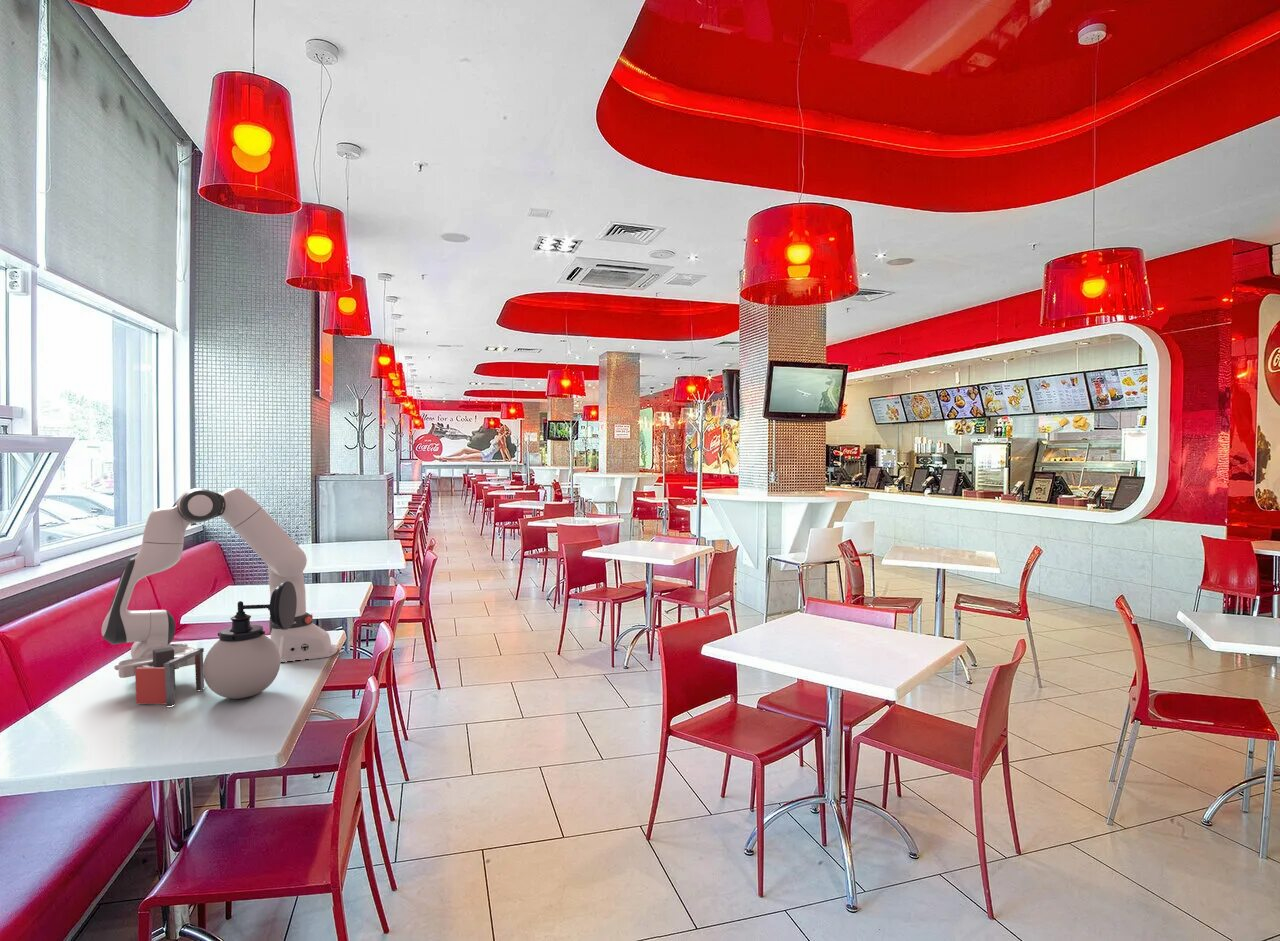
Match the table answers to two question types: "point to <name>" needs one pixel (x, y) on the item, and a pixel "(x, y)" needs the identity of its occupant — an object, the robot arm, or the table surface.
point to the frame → (170, 673)
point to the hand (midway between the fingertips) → (164, 668)
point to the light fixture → (249, 649)
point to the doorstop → (163, 657)
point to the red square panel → (150, 685)
